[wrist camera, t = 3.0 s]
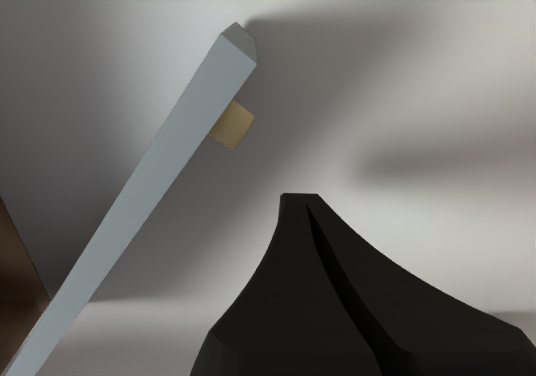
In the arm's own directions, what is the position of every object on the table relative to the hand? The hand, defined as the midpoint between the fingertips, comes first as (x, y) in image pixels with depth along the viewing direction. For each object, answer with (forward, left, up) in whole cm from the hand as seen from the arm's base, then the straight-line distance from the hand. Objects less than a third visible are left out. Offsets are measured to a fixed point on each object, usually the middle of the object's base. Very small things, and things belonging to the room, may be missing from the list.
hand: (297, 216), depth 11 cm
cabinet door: (-2, +7, -3) cm, 7 cm away
